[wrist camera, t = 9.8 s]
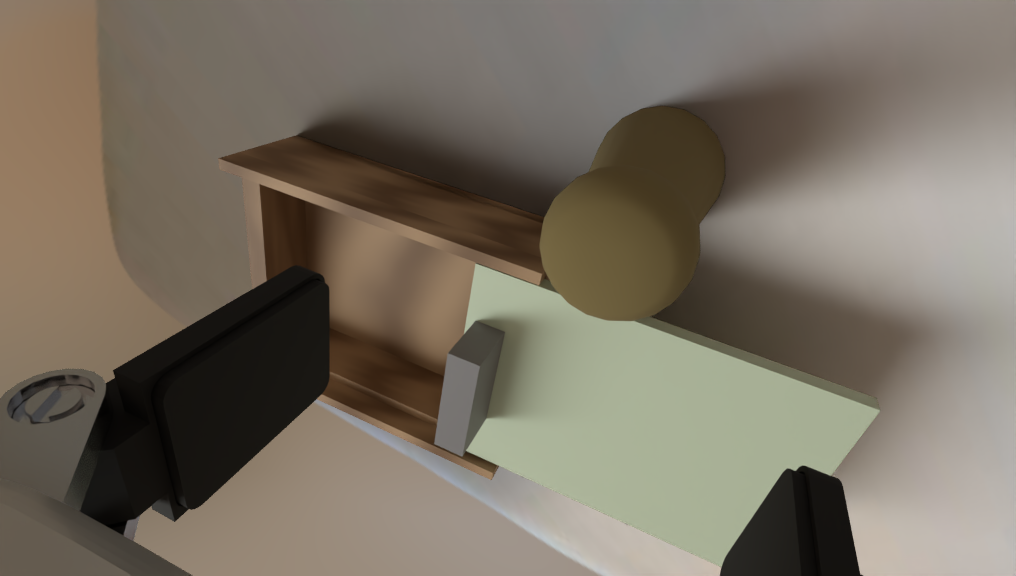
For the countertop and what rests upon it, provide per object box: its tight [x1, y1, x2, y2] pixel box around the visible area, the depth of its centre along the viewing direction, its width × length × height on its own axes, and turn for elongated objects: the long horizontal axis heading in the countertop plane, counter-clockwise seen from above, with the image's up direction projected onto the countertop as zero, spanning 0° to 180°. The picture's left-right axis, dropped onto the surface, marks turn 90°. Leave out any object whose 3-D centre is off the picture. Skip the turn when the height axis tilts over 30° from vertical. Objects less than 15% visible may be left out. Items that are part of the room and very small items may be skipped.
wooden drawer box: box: [218, 135, 550, 480], centre depth 32 cm, size 18×14×6 cm
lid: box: [434, 263, 880, 567], centre depth 25 cm, size 18×12×4 cm
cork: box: [539, 106, 725, 321], centre depth 21 cm, size 6×6×11 cm
